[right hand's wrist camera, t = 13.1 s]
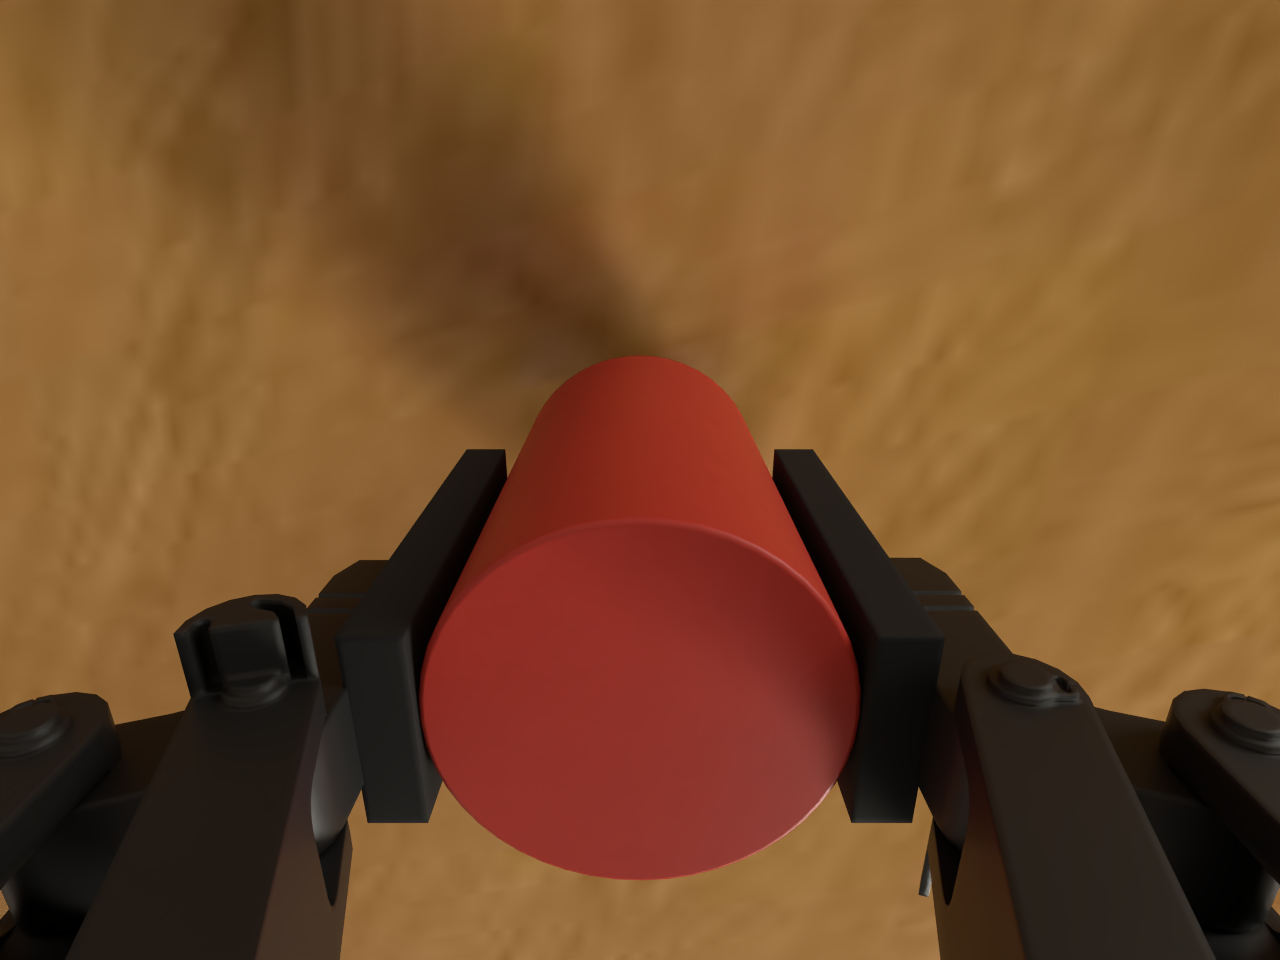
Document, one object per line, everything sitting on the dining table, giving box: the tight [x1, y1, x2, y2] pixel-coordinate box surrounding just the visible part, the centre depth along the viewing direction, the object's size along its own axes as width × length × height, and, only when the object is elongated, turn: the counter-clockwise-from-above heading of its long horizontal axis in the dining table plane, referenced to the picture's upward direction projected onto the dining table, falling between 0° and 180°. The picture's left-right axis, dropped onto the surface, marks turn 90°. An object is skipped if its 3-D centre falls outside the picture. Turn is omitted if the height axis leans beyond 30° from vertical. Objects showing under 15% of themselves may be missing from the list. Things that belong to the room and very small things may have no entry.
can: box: [419, 356, 861, 880], centre depth 13 cm, size 5×5×9 cm
